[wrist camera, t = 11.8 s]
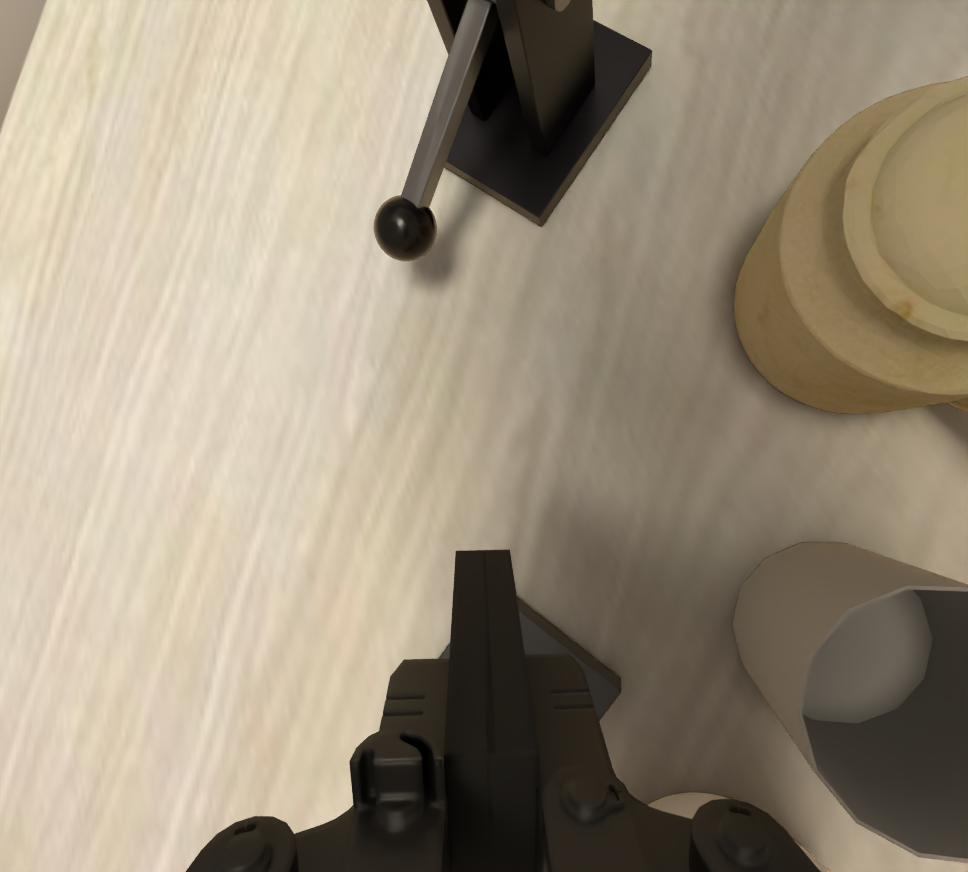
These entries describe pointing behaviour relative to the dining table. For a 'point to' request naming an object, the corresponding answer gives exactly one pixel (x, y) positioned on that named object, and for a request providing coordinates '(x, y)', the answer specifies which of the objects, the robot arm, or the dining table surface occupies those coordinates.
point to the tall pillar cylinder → (689, 805)
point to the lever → (436, 139)
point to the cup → (868, 684)
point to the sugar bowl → (869, 263)
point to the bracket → (539, 98)
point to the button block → (552, 641)
